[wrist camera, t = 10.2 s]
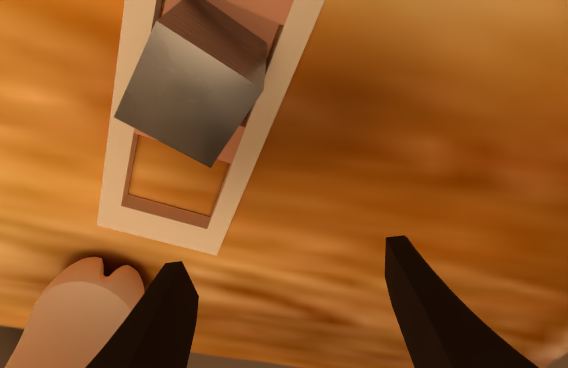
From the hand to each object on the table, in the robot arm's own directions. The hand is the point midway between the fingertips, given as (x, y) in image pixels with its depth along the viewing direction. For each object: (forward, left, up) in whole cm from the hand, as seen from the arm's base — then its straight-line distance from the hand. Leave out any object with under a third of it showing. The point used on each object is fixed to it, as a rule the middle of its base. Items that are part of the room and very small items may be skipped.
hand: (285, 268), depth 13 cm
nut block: (+5, -3, -10) cm, 11 cm away
